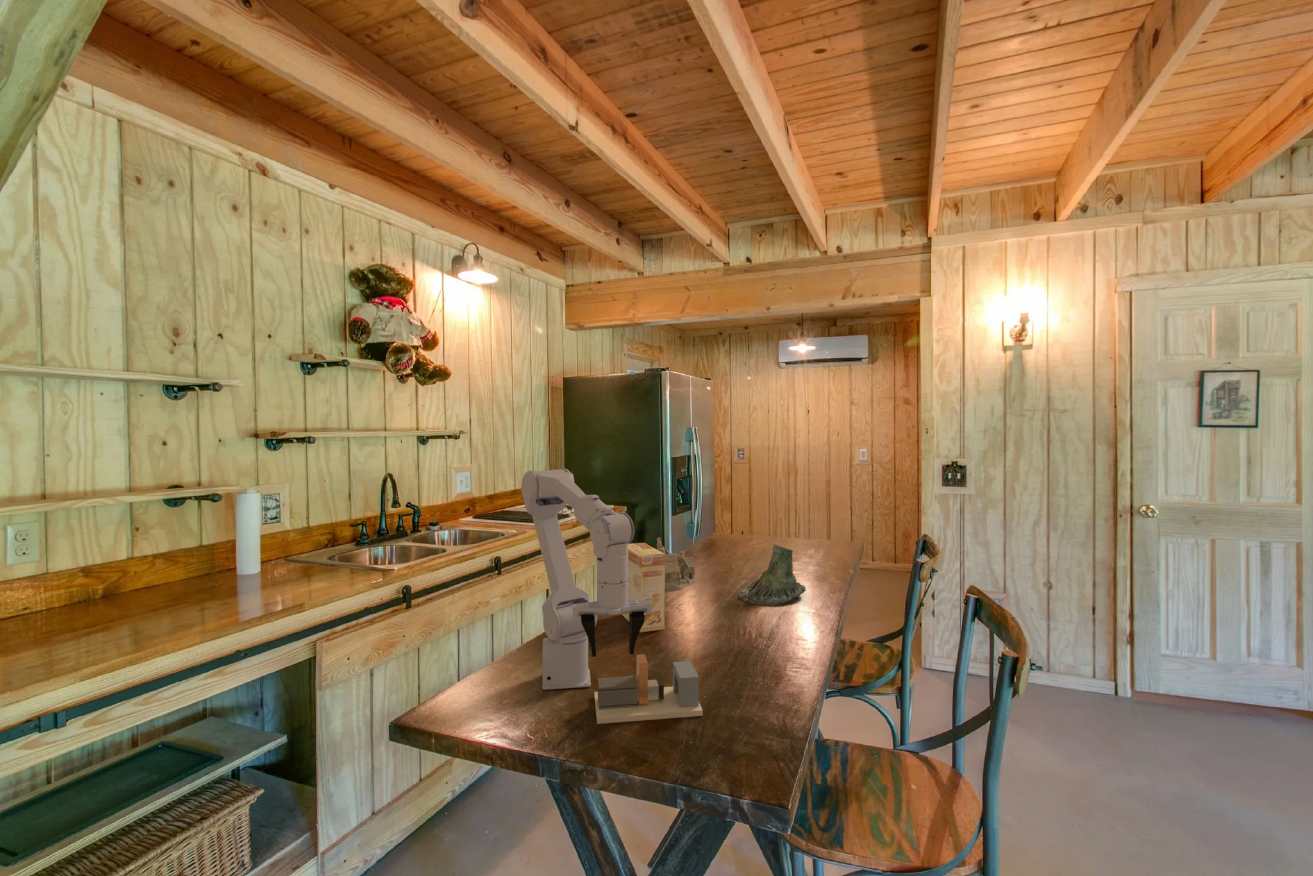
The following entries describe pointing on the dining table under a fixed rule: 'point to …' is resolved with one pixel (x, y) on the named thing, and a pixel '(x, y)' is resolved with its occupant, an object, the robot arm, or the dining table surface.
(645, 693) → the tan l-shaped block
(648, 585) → the coffeecake box
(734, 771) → the dining table surface
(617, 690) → the cream rectangular panel
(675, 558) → the ceramic cottage
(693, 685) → the socket block
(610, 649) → the dining table surface
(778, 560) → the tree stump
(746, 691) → the dining table surface
